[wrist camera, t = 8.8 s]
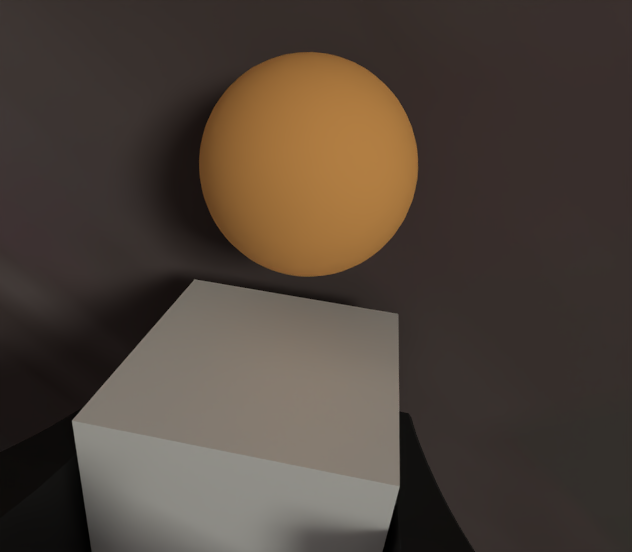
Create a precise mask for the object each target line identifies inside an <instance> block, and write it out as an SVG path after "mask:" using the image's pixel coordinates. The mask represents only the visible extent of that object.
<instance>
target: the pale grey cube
mask: <svg viewBox="0 0 632 552" xmlns="http://www.w3.org/2000/svg"><path fill="white" fill-rule="evenodd" d="M72 425H73V431H74V438H75V444H76V451H77V458H78V464H79V471H80V478H81V484H82V491H83V497H84V504H85V511H86V517H87V524H88V531H89V537H90V544H91V551H92V552H382V551H383V548H384V544H385V540H386V536H387V533H388V529H389V525H390V521H391V518H392V514H393V510H394V506H395V502H396V499H397V495H398V491H399V487H400V457H399V338H398V314H396V313H390V312H384V311H378V310H372V309H366V308H360V307H354V306H349V305H343V304H337V303H331V302H325V301H319V300H313V299H307V298H301V297H296V296H290V295H284V294H278V293H272V292H266V291H260V290H254V289H248V288H243V287H237V286H231V285H225V284H219V283H213V282H207V281H201V280H195V279H194V281H193V282H192V283H191V284H190V285H189V286H188V288H187V289H186V290H185V291H184V292H183V293H182V294H181V296H180V297H179V298H178V299H177V300H176V301H175V303H174V304H173V305H172V306H171V307H170V308H169V309H168V311H167V312H166V313H165V314H164V315H163V316H162V317H161V319H160V320H159V321H158V322H157V323H156V324H155V326H154V327H153V328H152V329H151V330H150V331H149V332H148V334H147V335H146V336H145V337H144V338H143V339H142V341H141V342H140V343H139V344H138V345H137V346H136V347H135V349H134V350H133V351H132V352H131V353H130V354H129V356H128V357H127V358H126V359H125V360H124V361H123V362H122V364H121V365H120V366H119V367H118V368H117V369H116V370H115V372H114V373H113V374H112V375H111V376H110V377H109V379H108V380H107V381H106V382H105V383H104V384H103V385H102V387H101V388H100V389H99V390H98V391H97V392H96V394H95V395H94V396H93V397H92V398H91V399H90V400H89V402H88V403H87V404H86V405H85V406H84V407H83V408H82V410H81V411H80V412H79V413H78V414H77V415H76V417H75V418H74V419H73V420H72Z"/></svg>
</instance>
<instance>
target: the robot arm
mask: <svg viewBox="0 0 632 552" xmlns="http://www.w3.org/2000/svg"><path fill="white" fill-rule="evenodd" d="M81 410H82V408H81V409H80V410H78V411H76V412H75V413H73V414H71V415H70V416H68V417H66V418H65V419H63V420H61V421H60V422H58V423H56V424H55V425H53V426H51V427H49V428H48V429H46V430H44V431H42V432H40V433H38V434H36V435H34V436H33V437H31V438H29V439H27V440H25V441H23V442H21V443H19V444H17V445H15V446H13V447H10V448H8V449H6V450H4V451H2V452H0V552H92V551H91V544H90V537H89V531H88V524H87V517H86V511H85V504H84V497H83V491H82V484H81V478H80V471H79V464H78V458H77V451H76V444H75V438H74V431H73V425H72V420H73V419H74V418H75V417H76V415H77V414H78V413H79V412H80V411H81ZM399 457H400V487H399V491H398V495H397V499H396V502H395V506H394V510H393V514H392V518H391V521H390V525H389V529H388V533H387V536H386V540H385V544H384V548H383V551H382V552H475V551H474V549H473V548H472V546H471V545H470V543H469V541H468V540H467V538H466V537H465V535H464V533H463V532H462V530H461V528H460V527H459V525H458V523H457V521H456V520H455V518H454V516H453V514H452V512H451V511H450V509H449V507H448V505H447V503H446V501H445V499H444V497H443V495H442V493H441V491H440V489H439V487H438V485H437V483H436V481H435V479H434V476H433V474H432V472H431V470H430V467H429V465H428V463H427V461H426V458H425V456H424V453H423V451H422V448H421V446H420V443H419V440H418V437H417V435H416V432H415V429H414V425H413V422H412V418H411V417H410V415H409V414H408V413H404V412H399Z"/></svg>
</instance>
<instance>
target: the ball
mask: <svg viewBox="0 0 632 552" xmlns="http://www.w3.org/2000/svg"><path fill="white" fill-rule="evenodd" d="M199 173H200V181H201V187H202V191H203V195H204V199H205V201H206V204H207V206H208V209H209V211H210V214H211V216H212V218H213V220H214V221H215V223H216V225H217V226H218V228H219V229H220V231H221V232H222V233H223V235H224V236H225V237H226V238H227V239H228V241H229V242H230V243H231V244H232V245H233V246H234V247H236V248H237V249H238V250H239V251H240V252H241V253H242V254H244V255H245V256H246V257H248V258H249V259H251V260H252V261H254V262H256V263H258V264H259V265H261V266H263V267H266V268H268V269H271V270H273V271H277V272H280V273H284V274H288V275H294V276H304V277H313V276H323V275H329V274H335V273H338V272H341V271H344V270H347V269H349V268H352V267H354V266H356V265H358V264H360V263H362V262H363V261H365V260H367V259H368V258H370V257H371V256H373V255H374V254H375V253H376V252H378V251H379V250H380V249H381V248H382V247H383V246H384V245H385V244H386V243H387V242H388V241H389V240H390V239H391V238H392V237H393V235H394V234H395V233H396V231H397V230H398V228H399V227H400V225H401V223H402V222H403V220H404V219H405V217H406V214H407V212H408V210H409V207H410V205H411V202H412V200H413V196H414V192H415V188H416V183H417V174H418V155H417V146H416V142H415V137H414V134H413V130H412V126H411V124H410V122H409V119H408V117H407V115H406V113H405V111H404V109H403V107H402V106H401V104H400V102H399V101H398V99H397V98H396V96H395V95H394V94H393V93H392V92H391V90H390V89H389V88H388V87H387V86H386V85H385V84H384V83H383V82H382V81H381V80H379V79H378V78H377V77H376V76H375V75H374V74H372V73H371V72H369V71H368V70H367V69H365V68H364V67H362V66H360V65H358V64H356V63H354V62H352V61H350V60H347V59H344V58H342V57H339V56H335V55H330V54H325V53H316V52H301V53H292V54H286V55H282V56H278V57H275V58H272V59H269V60H267V61H265V62H263V63H261V64H259V65H257V66H255V67H253V68H251V69H250V70H248V71H247V72H245V73H244V74H243V75H241V76H240V77H239V78H238V79H237V80H236V81H235V82H234V83H233V84H232V85H231V86H230V87H229V88H227V90H226V91H225V92H224V94H223V95H222V97H221V98H220V99H219V101H218V102H217V104H216V105H215V106H214V108H213V110H212V112H211V115H210V117H209V119H208V121H207V124H206V126H205V129H204V133H203V136H202V141H201V146H200V155H199Z"/></svg>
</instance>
